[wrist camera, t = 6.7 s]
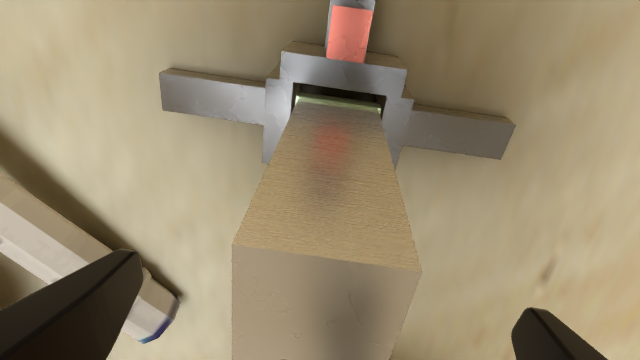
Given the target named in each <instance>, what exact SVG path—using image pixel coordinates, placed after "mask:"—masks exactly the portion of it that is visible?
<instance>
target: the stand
mask: <svg viewBox="0 0 640 360" xmlns="http://www.w3.org/2000/svg"><path fill="white" fill-rule="evenodd" d="M375 1H376V0H331V1H330V9H329V17H328V25H327V33H326V41H325V46H323V45H317V44H310V43H303V42H296V41H292V42H291V43H290V44H289V45H288V46H287V47H286V48H285V49H284V50H282V51H281V64H279V65H278V66H277V67H276V68H275V69H274V70H273V71H272V72H271V73H270V74H269V75H268V76H267V78H266V82H260V81H253V80H246V79H239V78H232V77H226V76H219V75H212V74H205V73H198V72H191V71H185V70H178V69H171V68H169V69H167V70H164V71H162V72H160V73H159V79H160V88H161V98H162V107H163V110H164V111H171V112H178V113H185V114H192V115H198V116H205V117H212V118H219V119H226V120H233V121H239V122H246V123H253V124H260V125H264V130H263V151H262V163H267V164H269V162H270V160H271V157H272V155H273V153H274V151H275V149H276V146H277V144H278V142H279V140H280V138H281V135H282V133H283V131H284V129H285V127H286V124H287V122H288V120H289V118H290V116H291V113H292V111H293V109H294V107H295V102H296V95H297V93H298V92H300V83H303V84H310V85H317V86H324V87H331V88H338V89H344V90H351V91H358V92H365V93H372V94H377V97H376V102H375V103H377V104H380V106H381V112H380V118H381V122H382V125H383V129H384V133H385V136H386V140H387V144H388V147H389V151H390V155H391V158H392V162H393V166H394V170H396V166H397V162H398V159H399V155H400V151H401V148H402V145H404V146H410V147H417V148H424V149H431V150H438V151H445V152H451V153H458V154H465V155H472V156H479V157H486V158H492V159H499V160H501V158H502V156H503V154H504V151H505V149H506V147H507V144H508V142H509V140H510V138H511V135H512V133H513V131H514V128H515V126H516V125H515V124H514V123H512V122H511V121H510V120H509V119H507V118H505V117H498V116H492V115H485V114H478V113H471V112H464V111H458V110H451V109H444V108H437V107H430V106H423V105H417V104H413V103H414V98H413V97H412V95H411V94H410V92H409V90H408V89H407V87H406V86H405V84H404V83H405V79H406V75H407V71H408V70H407V68H406V67H405V66H404V64H403V63H402V62H401V61H400V59H399V58H398V57H397V56H391V55H385V54H378V53H371V52H366V49H367V44H368V39H369V33H370V28H371V22H372V17H373V12H374V6H375Z"/></svg>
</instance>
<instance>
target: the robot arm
mask: <svg viewBox="0 0 640 360" xmlns="http://www.w3.org/2000/svg"><path fill="white" fill-rule="evenodd" d="M143 278H144V277H143V270H142V265H141V259H140V255H139V253H138V252H137V251H135V250H128V249H117V250H115V251H113V252H111V253H109V254H107V255H105V256H103V257H101V258H100V259H98V260H96V261H94V262H92V263H90V264H88V265H86V266H84V267H82V268H80V269H78V270H77V271H75V272H73V273H71V274H69V275H67V276H65V277H63V278H61V279H59V280H57V281H56V282H54V283H52V284H50V285H48V286H46V287H44V288H42V289H40V290H38V291H36V292H34V293H33V294H31V295H29V296H27V297H25V298H23V299H21V300H19V301H17V302H15V303H13V304H11V305H10V306H8V307H6V308H4V309H2V310H0V360H106V358H107V357H108V355H109V353H110V351H111V350H112V348H113V346H114V344H115V342H116V340H117V338H118V336H119V333H120V331H121V329H122V327H123V325H124V323H125V321H126V319H127V317H128V314H129V312H130V310H131V308H132V306H133V304H134V302H135V300H136V298H137V295H138V293H139V291H140V289H141V287H142V284H143ZM511 338H512V344H513V348H514V352H515V356H516V360H608V359H607V358H605V357H604V356H603V355H602V354H600V353H599V352H598V351H597V350H596V349H594V348H593V347H592V346H591V345H589V344H588V343H587V342H586V341H585V340H583V339H582V338H581V337H580V336H579V335H577V334H576V333H575V332H574V331H572V330H571V329H570V328H569V327H568V326H566V325H565V324H564V323H563V322H561V321H560V320H559V319H558V318H557V317H555V316H554V315H553V314H552V313H550V312H549V311H547V310H545V309H538V308H531V307H530V308H527V309H525V310H524V311H523V313H522V315H521V316H520V318H519V319H518V321H517V323H516V324H515V326H514V328H513V329H512V334H511Z"/></svg>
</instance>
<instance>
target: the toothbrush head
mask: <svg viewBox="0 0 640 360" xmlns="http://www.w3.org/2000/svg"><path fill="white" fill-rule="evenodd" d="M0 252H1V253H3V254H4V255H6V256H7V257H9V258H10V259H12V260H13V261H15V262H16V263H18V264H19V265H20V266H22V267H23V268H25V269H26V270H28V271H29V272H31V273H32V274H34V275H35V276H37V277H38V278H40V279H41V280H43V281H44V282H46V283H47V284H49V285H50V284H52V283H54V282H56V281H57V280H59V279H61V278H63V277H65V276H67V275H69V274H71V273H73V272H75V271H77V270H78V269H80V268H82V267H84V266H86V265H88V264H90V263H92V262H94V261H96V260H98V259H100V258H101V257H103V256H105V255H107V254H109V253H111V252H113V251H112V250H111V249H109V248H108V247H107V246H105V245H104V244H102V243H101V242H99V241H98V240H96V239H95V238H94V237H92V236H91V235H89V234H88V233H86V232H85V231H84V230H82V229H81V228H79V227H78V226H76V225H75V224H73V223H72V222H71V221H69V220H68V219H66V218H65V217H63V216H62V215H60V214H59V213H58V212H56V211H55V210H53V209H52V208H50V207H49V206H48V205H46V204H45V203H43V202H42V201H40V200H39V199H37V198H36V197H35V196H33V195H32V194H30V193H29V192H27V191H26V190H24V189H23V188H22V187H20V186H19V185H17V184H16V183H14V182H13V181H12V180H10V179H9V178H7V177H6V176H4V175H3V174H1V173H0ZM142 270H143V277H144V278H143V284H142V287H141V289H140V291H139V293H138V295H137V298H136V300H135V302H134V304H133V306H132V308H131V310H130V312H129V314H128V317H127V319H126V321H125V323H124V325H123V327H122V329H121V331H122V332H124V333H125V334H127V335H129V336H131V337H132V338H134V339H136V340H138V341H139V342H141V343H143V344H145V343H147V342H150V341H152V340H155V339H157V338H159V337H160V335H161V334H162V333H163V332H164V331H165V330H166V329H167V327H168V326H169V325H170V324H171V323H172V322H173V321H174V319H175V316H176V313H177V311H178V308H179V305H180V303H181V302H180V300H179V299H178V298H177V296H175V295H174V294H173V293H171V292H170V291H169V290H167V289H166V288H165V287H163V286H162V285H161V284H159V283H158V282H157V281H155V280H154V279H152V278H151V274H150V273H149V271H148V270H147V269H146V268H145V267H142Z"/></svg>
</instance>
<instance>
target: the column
mask: <svg viewBox="0 0 640 360" xmlns="http://www.w3.org/2000/svg"><path fill="white" fill-rule="evenodd" d="M380 112H381V106H380V104H377V103H374V102H367V101H360V100H353V99H347V98H340V97H333V96H326V95H319V94H312V93H306V92H301V93H300V92H298V93H297V95H296V102H295V107H294V109H293V111H292V113H291V116H290V118H289V120H288V122H287V124H286V127H285V129H284V131H283V133H282V135H281V138H280V140H279V142H278V144H277V146H276V149H275V151H274V153H273V155H272V157H271V160H270V162H269V164H268V166H267V168H266V170H265V173H264V175H263V177H262V179H261V181H260V184H259V186H258V188H257V190H256V192H255V195H254V197H253V199H252V201H251V203H250V206H249V208H248V210H247V212H246V214H245V217H244V219H243V221H242V223H241V225H240V228H239V230H238V232H237V234H236V236H235V239H234V241H233V243H232V360H389V359H390V356H391V354H392V351H393V348H394V346H395V343H396V340H397V338H398V335H399V332H400V330H401V327H402V324H403V322H404V319H405V316H406V314H407V311H408V308H409V306H410V303H411V300H412V298H413V295H414V292H415V290H416V287H417V284H418V282H419V279H420V276H421V274H422V269H421V265H420V262H419V258H418V254H417V251H416V247H415V243H414V240H413V236H412V232H411V229H410V225H409V221H408V217H407V214H406V210H405V206H404V203H403V199H402V195H401V192H400V188H399V184H398V181H397V177H396V173H395V170H394V166H393V162H392V158H391V155H390V151H389V147H388V144H387V140H386V136H385V133H384V129H383V125H382V122H381V118H380Z"/></svg>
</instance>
